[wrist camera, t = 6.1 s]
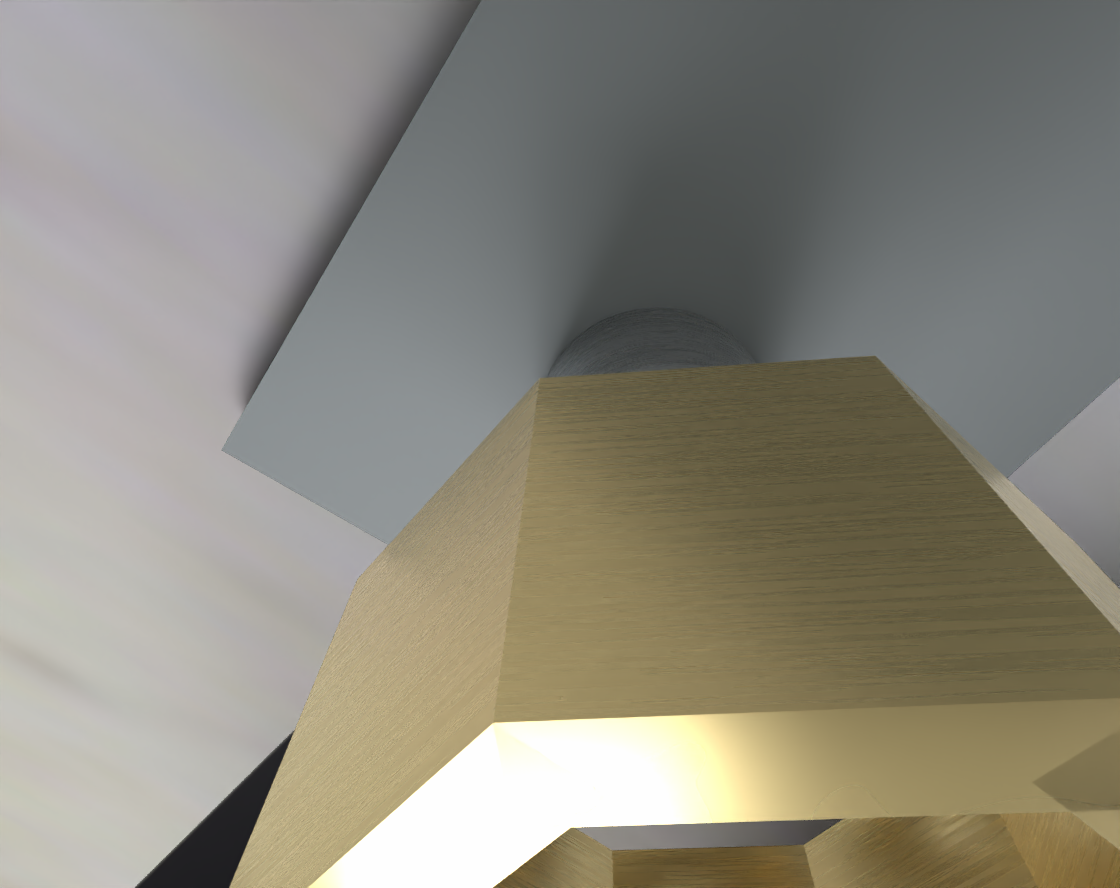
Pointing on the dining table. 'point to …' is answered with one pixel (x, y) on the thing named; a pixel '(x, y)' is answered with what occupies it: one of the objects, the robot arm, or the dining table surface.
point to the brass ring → (713, 656)
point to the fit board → (715, 226)
